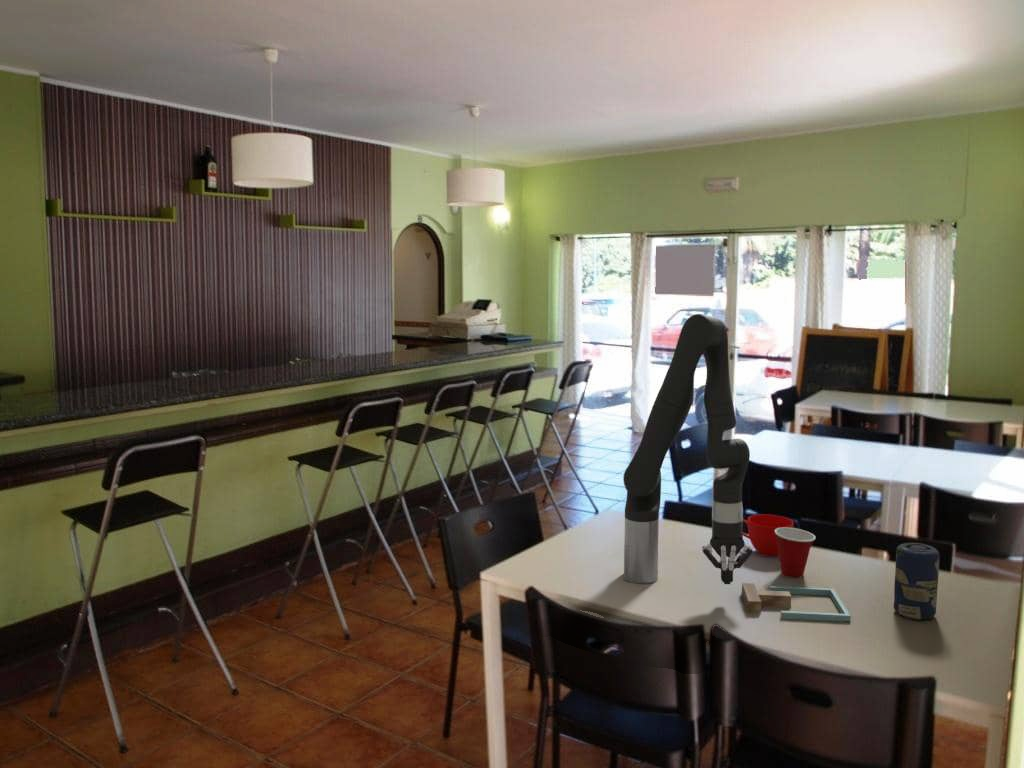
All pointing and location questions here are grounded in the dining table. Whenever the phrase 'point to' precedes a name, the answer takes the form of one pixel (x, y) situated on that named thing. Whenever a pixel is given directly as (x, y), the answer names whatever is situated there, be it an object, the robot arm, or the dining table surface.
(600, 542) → the dining table surface
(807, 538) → the plastic cup
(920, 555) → the canister
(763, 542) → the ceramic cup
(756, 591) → the t block
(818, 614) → the dock
